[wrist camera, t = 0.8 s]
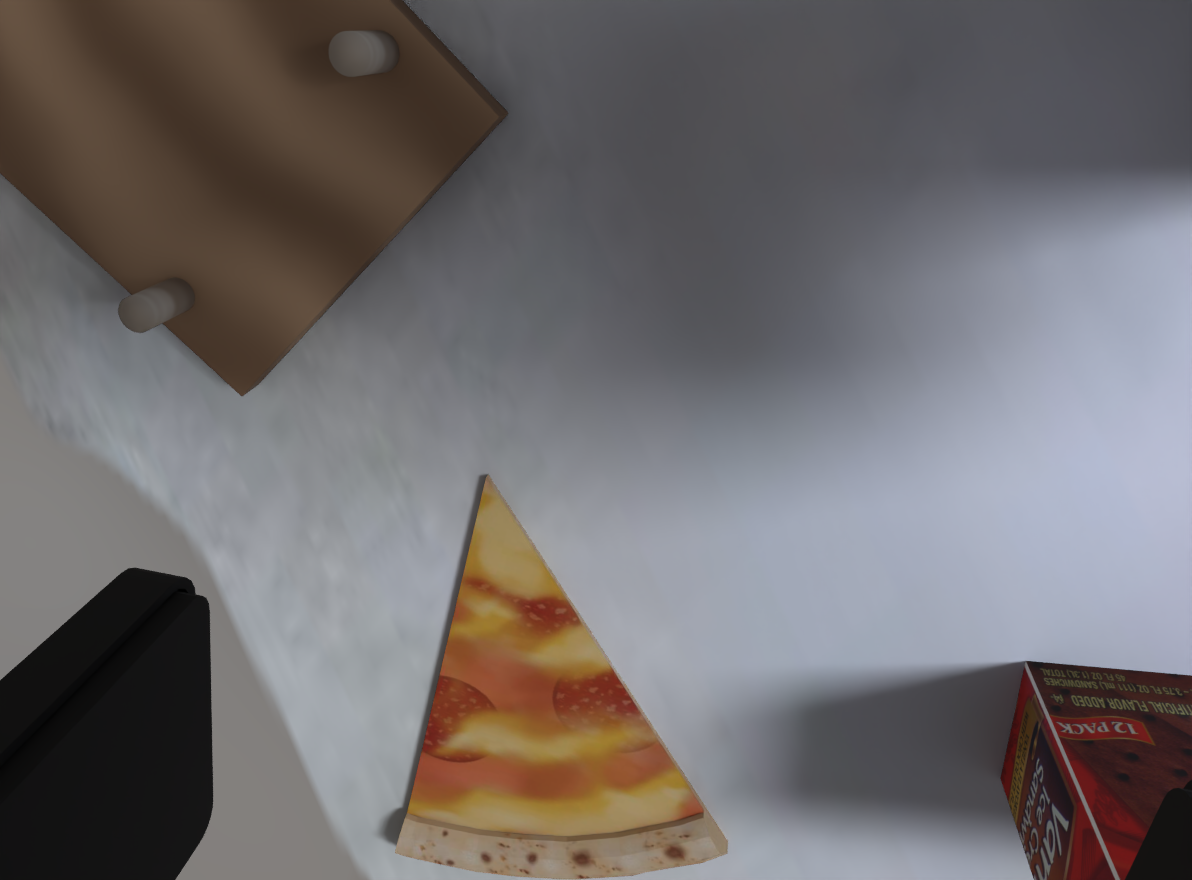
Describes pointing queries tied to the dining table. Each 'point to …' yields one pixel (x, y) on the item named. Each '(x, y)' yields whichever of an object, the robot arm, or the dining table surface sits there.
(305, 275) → the peg rack
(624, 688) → the pizza slice
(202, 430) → the dining table surface
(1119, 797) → the ice cream box
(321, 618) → the dining table surface
